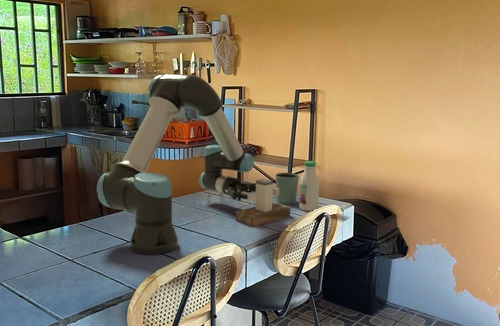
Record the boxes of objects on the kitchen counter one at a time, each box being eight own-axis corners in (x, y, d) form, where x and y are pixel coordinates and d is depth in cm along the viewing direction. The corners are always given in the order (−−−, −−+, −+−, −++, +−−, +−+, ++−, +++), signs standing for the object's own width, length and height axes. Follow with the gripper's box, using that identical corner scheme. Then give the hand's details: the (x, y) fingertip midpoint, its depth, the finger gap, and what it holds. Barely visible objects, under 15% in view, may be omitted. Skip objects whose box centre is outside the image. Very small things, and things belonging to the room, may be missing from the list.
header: (236, 220, 186) (236, 212, 186) (271, 210, 200) (271, 202, 200) (254, 226, 179) (255, 217, 179) (290, 215, 193) (290, 207, 193)
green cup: (271, 199, 218) (272, 173, 215) (292, 198, 221) (293, 172, 218) (279, 205, 208) (280, 178, 206) (301, 203, 211) (302, 176, 209)
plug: (255, 218, 190) (255, 180, 187) (262, 215, 193) (263, 178, 190) (264, 220, 187) (265, 182, 184) (271, 218, 189) (272, 180, 187)
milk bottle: (317, 206, 207) (319, 160, 203) (318, 212, 199) (320, 163, 195) (299, 206, 207) (300, 159, 204) (299, 211, 200) (300, 163, 196)
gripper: (249, 189, 212) (287, 198, 197) (205, 200, 194) (243, 210, 179) (250, 172, 210) (287, 180, 196) (205, 181, 193) (243, 191, 178)
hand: (266, 195), depth 187 cm, fingers open, 13 cm apart
